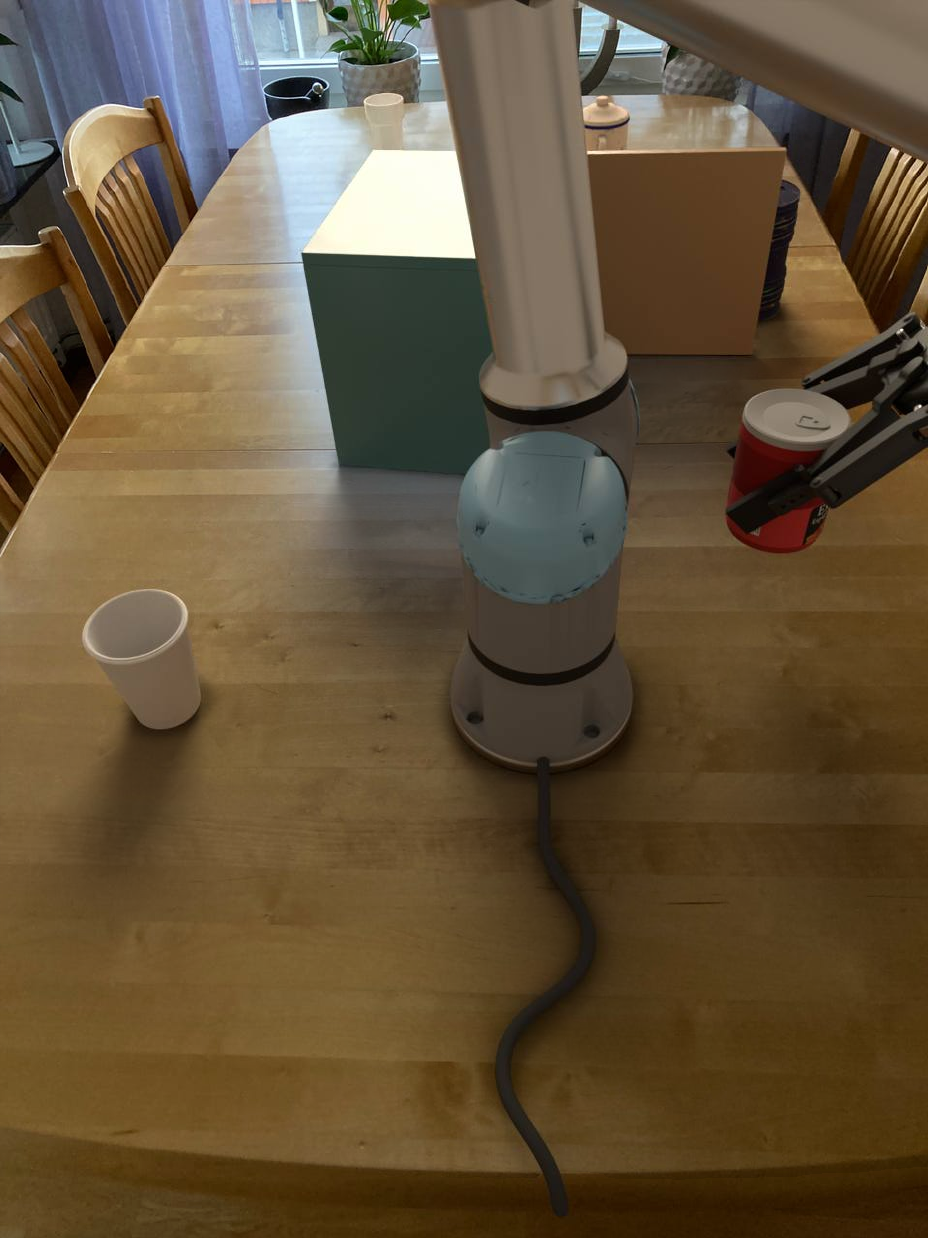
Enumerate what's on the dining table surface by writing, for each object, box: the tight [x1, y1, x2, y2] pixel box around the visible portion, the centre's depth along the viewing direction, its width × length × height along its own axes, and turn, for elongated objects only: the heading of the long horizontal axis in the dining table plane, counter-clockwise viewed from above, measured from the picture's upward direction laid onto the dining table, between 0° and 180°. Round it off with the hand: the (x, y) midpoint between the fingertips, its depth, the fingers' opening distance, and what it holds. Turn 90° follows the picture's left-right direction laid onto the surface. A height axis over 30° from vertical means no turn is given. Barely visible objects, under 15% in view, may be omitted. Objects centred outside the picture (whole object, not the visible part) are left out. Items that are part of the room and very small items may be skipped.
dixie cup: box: [81, 588, 202, 730], centre depth 81 cm, size 8×8×10 cm
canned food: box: [724, 388, 852, 555], centre depth 77 cm, size 8×8×11 cm
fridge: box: [300, 149, 493, 475], centre depth 107 cm, size 18×26×24 cm
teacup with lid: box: [583, 95, 631, 151], centre depth 159 cm, size 12×9×12 cm
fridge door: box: [587, 146, 788, 356], centre depth 115 cm, size 7×26×24 cm, turn 84°
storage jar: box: [757, 178, 802, 323], centre depth 123 cm, size 10×10×15 cm
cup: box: [363, 92, 405, 150], centre depth 167 cm, size 7×7×11 cm
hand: (736, 488), depth 79 cm, fingers closed on canned food, 8 cm apart
